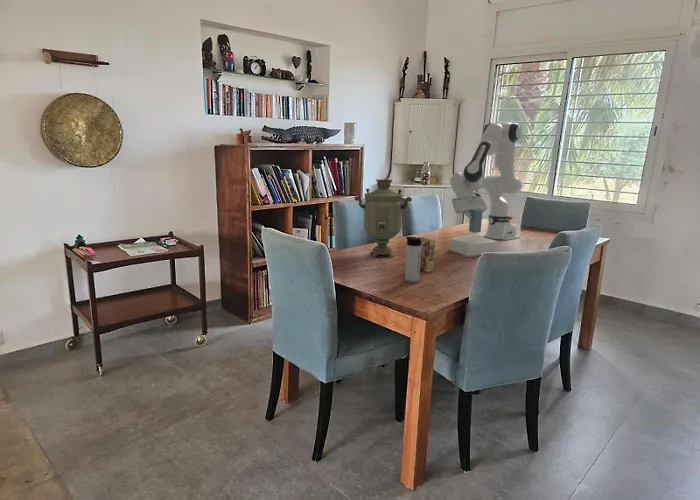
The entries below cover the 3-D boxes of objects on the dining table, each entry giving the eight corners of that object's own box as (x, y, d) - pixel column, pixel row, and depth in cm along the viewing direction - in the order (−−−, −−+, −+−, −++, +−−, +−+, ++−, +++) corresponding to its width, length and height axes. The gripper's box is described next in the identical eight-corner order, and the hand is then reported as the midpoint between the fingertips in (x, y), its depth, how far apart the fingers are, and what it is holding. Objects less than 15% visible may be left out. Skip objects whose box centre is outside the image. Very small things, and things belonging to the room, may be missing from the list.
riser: (477, 247, 268) (478, 235, 266) (497, 254, 253) (499, 241, 251) (448, 250, 259) (449, 238, 258) (467, 257, 245) (468, 244, 243)
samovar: (344, 259, 237) (345, 181, 228) (361, 247, 261) (362, 176, 251) (401, 265, 228) (404, 184, 218) (412, 253, 251) (416, 179, 242)
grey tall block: (475, 230, 256) (477, 209, 253) (480, 232, 252) (482, 210, 249) (468, 231, 254) (470, 209, 251) (474, 232, 250) (476, 210, 248)
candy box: (433, 271, 219) (436, 240, 215) (427, 272, 217) (429, 241, 213) (420, 266, 226) (421, 236, 222) (413, 268, 223) (415, 237, 219)
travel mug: (402, 279, 206) (404, 235, 202) (417, 278, 207) (419, 235, 202) (405, 283, 200) (407, 238, 195) (420, 283, 201) (423, 238, 196)
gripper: (453, 195, 251) (463, 215, 245) (483, 194, 259) (493, 214, 253) (447, 202, 256) (457, 222, 250) (477, 200, 264) (487, 220, 258)
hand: (475, 218), depth 252 cm, fingers closed on grey tall block, 4 cm apart
